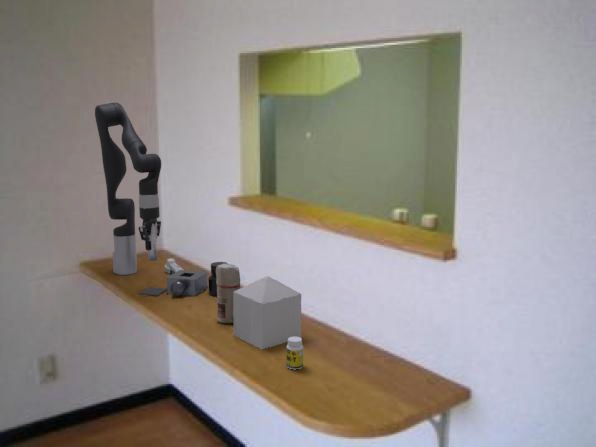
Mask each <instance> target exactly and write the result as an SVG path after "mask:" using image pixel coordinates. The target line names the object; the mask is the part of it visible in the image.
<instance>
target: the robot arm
mask: <svg viewBox="0 0 596 447" xmlns="http://www.w3.org/2000/svg"><path fill="white" fill-rule="evenodd" d="M94 117H95V118H94V119H95V123H96V127H97V132H98V136H99V141H100V147H101V148H100V149H101V150H100V151H101V156H102V158H101V159H102V168H103V172H104V178H105V179H104V180H105V187H106V198H107V199H106V200H107V212H108V216H109V218H110V219H111V220H119V221H120V220H121V221H123V220H124V221H125V220H126V221H125V223H123V224H122V225H120V226H117V227H114V228H113V230H112V232H113V245H114V246H113V248H114V249H113V250H114V251H112V264H113V266H112V268H113V274H116V275H120V276H125V275H127V276H129V275H133V274H136V273H138V264H137V261H138V259H137V242H136V241H137V240H136V213H135V212H136V211H135V210H136V209H135V201H134V200H133V199H132V198H117V197H116V195H117V191H118V188H119V187H120V184H121V183H122V181H123V179H124V178H125V176H126V173H127V162H126V161H127V160H126V156H125V153H124V152H123V150H122V149H121V148H120V147H119V146H118V145H117V143H116V142H115V141H114V140H113V139H112V137H111V135H110V132H109V128H110V127H115V126H121V127H122V132H121V144H122V146H123V148H124V149H125V150H126V152H127V153H128V154H129V157H130V161H131V163H132V167H133V169H134V170H135V171H136V172H137V173H140V174H145V173H146V174H147V176H146V177H145V178H141V179H140V180H139V182H138V208H139V218H140V219H142V225H141V226H138V231H139V232H138V233H139V235H140V239H141V241H144V244H145V250H146V251H148V250H149V251H150V250H151V249H152V248H151V235H152V234H153V227H154V225H155V231H156V240H157V239H158V237H160V234H161V226H162V222H161V220H158V219H159V217H160V198H159V189H158V187H159V186H158V184H159V183H158V182H159V178H160V174H161V170H162V160H161V157H160V156H159V155H158V154H157V153H147V152H148V151H147V150H148V149H147V146H146V144H145V143H144V141H143V140H142V139H141V138H140V137H139V135H138V133H137V132H136V130H135V129H134V126H133V124H132V122H131V120H130V117H129V116H128V114H127V112H126V110H125V108H124V106H122V104H121V103H119V102H108V103H104V104H103V103H102V104H98V105H96V107H95V108H94ZM147 232H150V233H147ZM148 235H149V238H148Z"/></svg>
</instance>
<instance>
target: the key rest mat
mask: <svg viewBox="0 0 596 447" xmlns="http://www.w3.org/2000/svg"><path fill="white" fill-rule="evenodd" d="M165 292H167V288H162V287H151V286H149V287H147V288H145V289H144V290H142V291H140V292H139V293H138V294H139V295H142V296H152V297H153V296H154V297H159V296H160V295H162V294H164V293H165Z"/></svg>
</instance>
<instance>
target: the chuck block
mask: <svg viewBox="0 0 596 447" xmlns="http://www.w3.org/2000/svg"><path fill="white" fill-rule="evenodd" d="M208 288H209V281H208V271H199V270H198V271H197V270H188V269H183V270H179V271H177V272H176V273H173V274H170V275H169V276H167V277H166V289H167V291H166V292H167V293H166V294H168V295H174V296H179V295H180V296H189V297H195V296H197V295H198V294H200V293H202V292H203V291H204V290H206V289H208Z"/></svg>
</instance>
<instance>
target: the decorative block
mask: <svg viewBox="0 0 596 447" xmlns="http://www.w3.org/2000/svg"><path fill="white" fill-rule="evenodd" d="M233 306H234V307H233V316H234V323H233V327H232V328H233V330H232V331H233V336H235V337H236V338H239V339H241V340H242V341H244V342H246V343H247V344H250V345H252V346H254V347H256V348H257V347H258V349H259V348H260V350H262V349H263V350H266V349H269V348H272V347H275V346H278V345H281V344H285V343H288V338H289V337H300V338H302V323H301V322H302V321H301V320H302V294H301V292H299V291H297V290H296V289H293V288H291V287H290V286H288V285H285V284H284V283H282V282H281V281H278V280H277V279H274V278H272V277H271V276H269V275H268V276H265V277H263V278H260V279H258V280H255V281H252V282H251V283H249V284H247V285H245V286H243V287H240V289H238V290H236V291H234V292H233ZM268 347H269V348H268ZM265 348H266V349H265Z"/></svg>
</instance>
